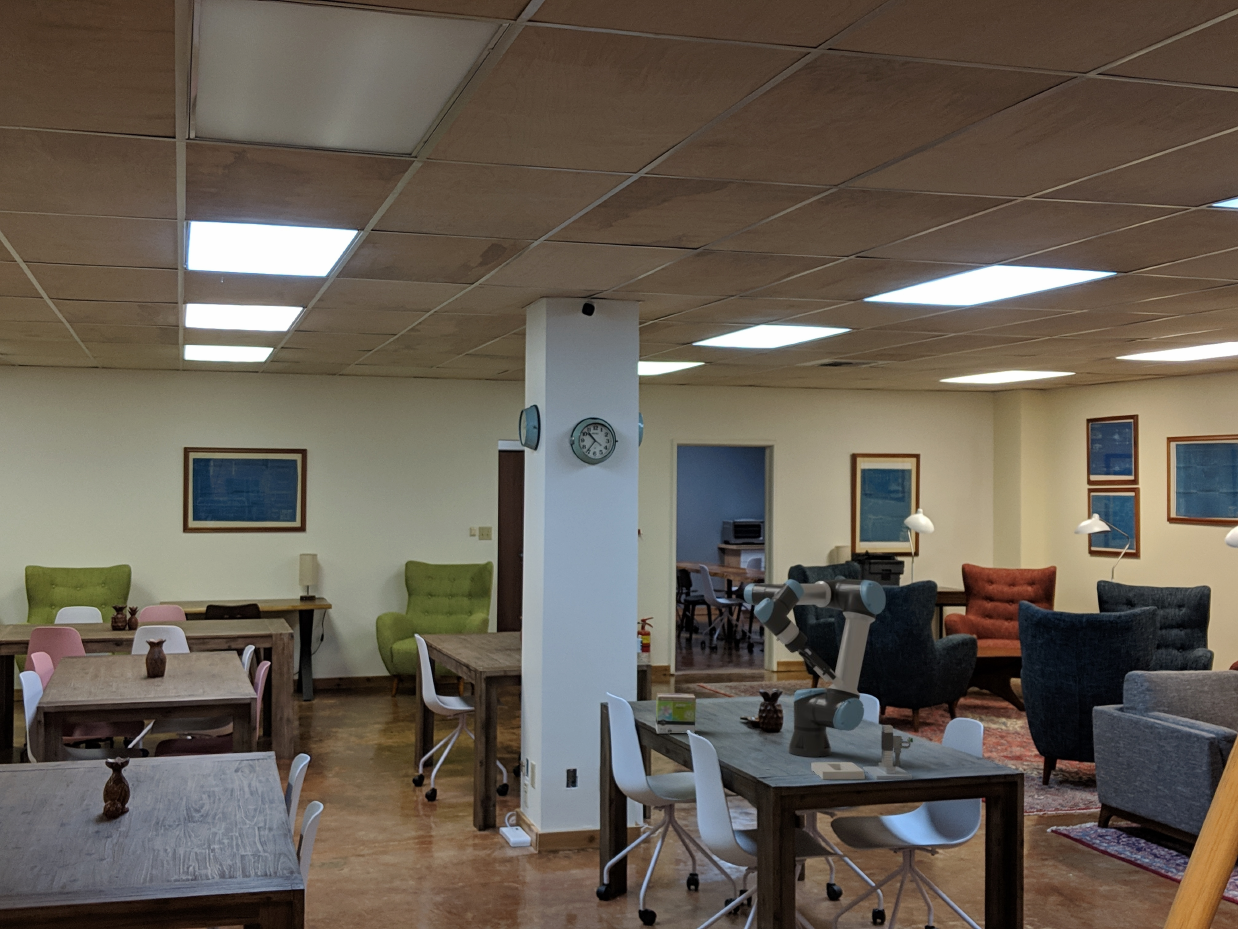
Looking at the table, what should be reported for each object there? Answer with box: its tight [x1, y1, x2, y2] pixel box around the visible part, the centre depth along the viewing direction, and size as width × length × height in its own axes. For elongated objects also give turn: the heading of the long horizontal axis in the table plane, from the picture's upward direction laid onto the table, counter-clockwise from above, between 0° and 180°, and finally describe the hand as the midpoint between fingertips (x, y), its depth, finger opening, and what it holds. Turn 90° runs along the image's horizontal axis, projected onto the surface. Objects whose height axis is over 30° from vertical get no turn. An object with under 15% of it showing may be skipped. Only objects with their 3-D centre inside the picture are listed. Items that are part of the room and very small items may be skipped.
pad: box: [862, 766, 913, 780], centre depth 386 cm, size 14×12×1 cm
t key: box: [878, 724, 897, 774], centre depth 387 cm, size 8×3×15 cm, turn 6°
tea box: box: [655, 692, 697, 734], centre depth 456 cm, size 15×10×15 cm
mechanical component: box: [893, 735, 914, 767], centre depth 400 cm, size 3×10×10 cm, turn 78°
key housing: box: [810, 761, 866, 780], centre depth 385 cm, size 14×14×2 cm
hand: (834, 682), depth 391 cm, fingers open, 13 cm apart
